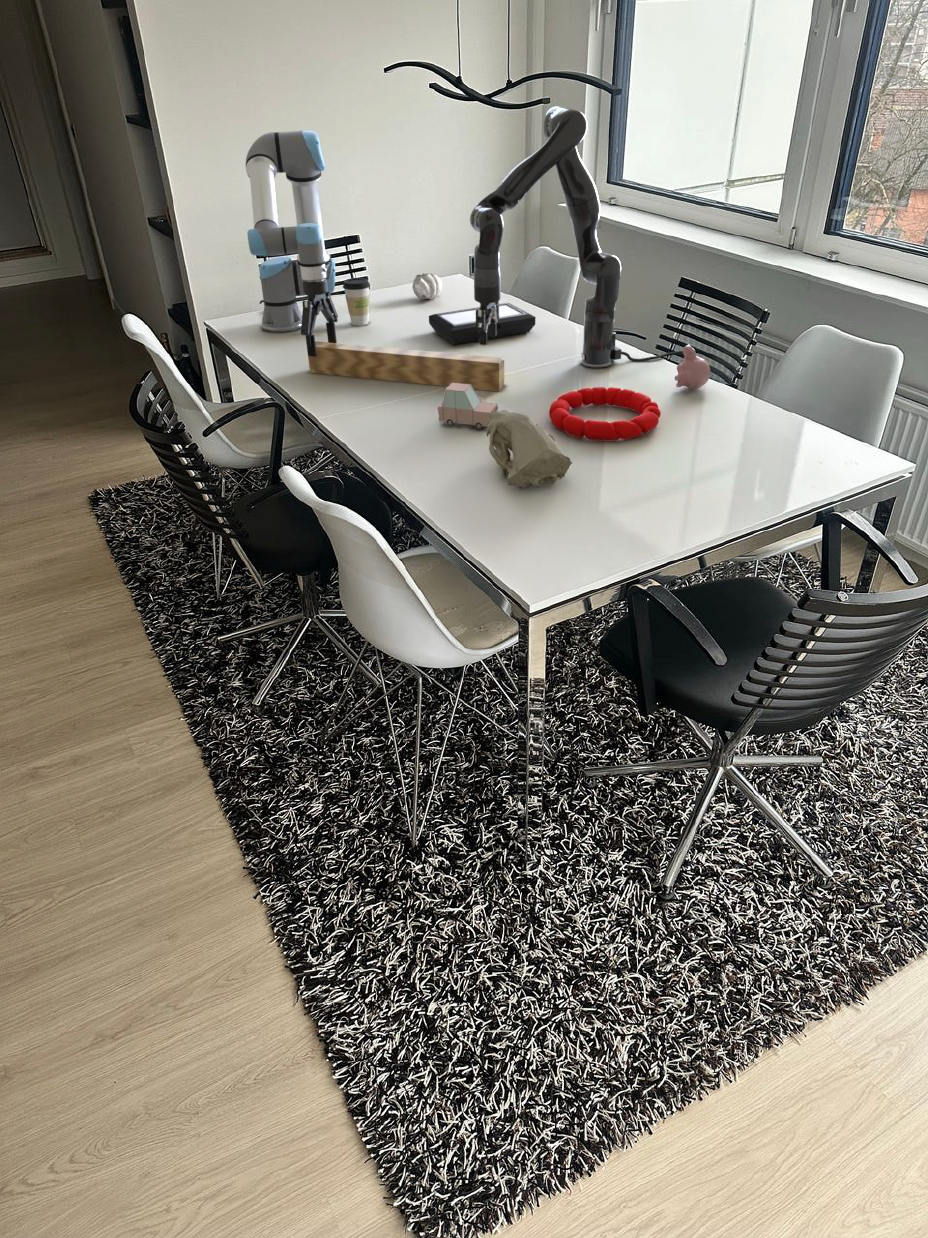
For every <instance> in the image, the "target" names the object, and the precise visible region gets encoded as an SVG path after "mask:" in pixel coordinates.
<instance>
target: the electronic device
mask: <svg viewBox="0 0 928 1238" xmlns="http://www.w3.org/2000/svg"><path fill="white" fill-rule="evenodd" d="M479 308H480V306H478V307H472V308H466V309H464V308H463V309H457V310H452V311H445V312H439V313H434V314H430V315H428V324H429V325H430V327H431V328H432V330H433V331H434V332H435V333H436V334H438V335H440V336H441V337H443V339H446V340H447V341H449V342H450V343H452V344H453V345H458V344H465V343H470V342H476V341H479V332H478V331H476V310H479ZM536 319H537V318H536V316H534V315H533V314H530V313H529V312H527V311H525V310H523V309H522V308H520V307H518V306H516V305H513V304H511V303H510V302H503V303H499V319H497V320H498V321H497V323H496V336H495V337H493V336H489V325H488V329H487V340H489V339H490V340H491V339H495V338H501V337H507V336H513V335H520V334H525V333H530V331H531V330H532V329H533V328H534V327H535V326H536ZM481 327H482V326H481Z"/></svg>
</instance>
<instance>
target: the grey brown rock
mask: <svg viewBox="0 0 928 1238" xmlns="http://www.w3.org/2000/svg"><path fill="white" fill-rule="evenodd" d="M485 436H486V438H487V437H489V438H488V440H489V444H488V445H489V446H488V450H489V454H490V456H491V457H492V458H493V459H494V460H495V462H496V464H497V466H499V468H500V470H501V471H502V472H501V478H502V479H507V480H506V484H507V486H517V487H518V486H519V488H523V489H524V488H526V486H527V485H529V483H531V485H533V486H534V487H536V488H540V485H541V484H542V482H544V483H549V484H550V485H553V484H555V483H556V482H557V480H561V479H563V478H565V476H566V474H567V472H568V471H569V469H570V467H571V466H572V464H573V462H572V461H571V458H570V457H568V456H567V455H565V453H564V451H562V449H561V448H560V446H559V444H557V443H556V439H555V438H554V436H553V435H551V434H550V433H548V432H547V431H546V430H545V429H544V428H542V427H541V426H539V425H538V424H537V423H536V424H535V422H534V421H533V419H532V418H531V417H530V416H529V415H527V414H524V413H519V412H515V411H509V410H507V409H502V410H500V411H499V410H497V411H496V412H492V413H491V414H490V422H488V423H487V427H486V435H485ZM511 453H512V454H511ZM511 455H512V457H513V458H512V460H511ZM507 474H508V475H507Z"/></svg>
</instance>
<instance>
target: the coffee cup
mask: <svg viewBox="0 0 928 1238" xmlns="http://www.w3.org/2000/svg"><path fill="white" fill-rule="evenodd" d="M370 287H371V283H370V282H369V279H367V278H365V277H351V278H347V279H345V280H344V281H343V285H342V288H343V290H344V297H345V301H346V305H347V310H348V314H349V318H350V323H351V325H353V326H357V327H359V326H365V325H368V324H369V317H370V316H369V313H370Z"/></svg>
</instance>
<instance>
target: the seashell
mask: <svg viewBox="0 0 928 1238" xmlns="http://www.w3.org/2000/svg"><path fill="white" fill-rule="evenodd" d="M411 288H412V291H413V293H414V295H415V296H416V297H417V298H418V299H420V300H426V299H428V300H432V299H435V298H437V297H438V296H439V295H440V294H441V291H442V289H443V282H442V280H441V278H440V276H437V275H436V273H429V272H428V273H427V272H426V273H424V272H423V273H422V274H416V275H415V278H414V279H413V282H412V287H411Z"/></svg>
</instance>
